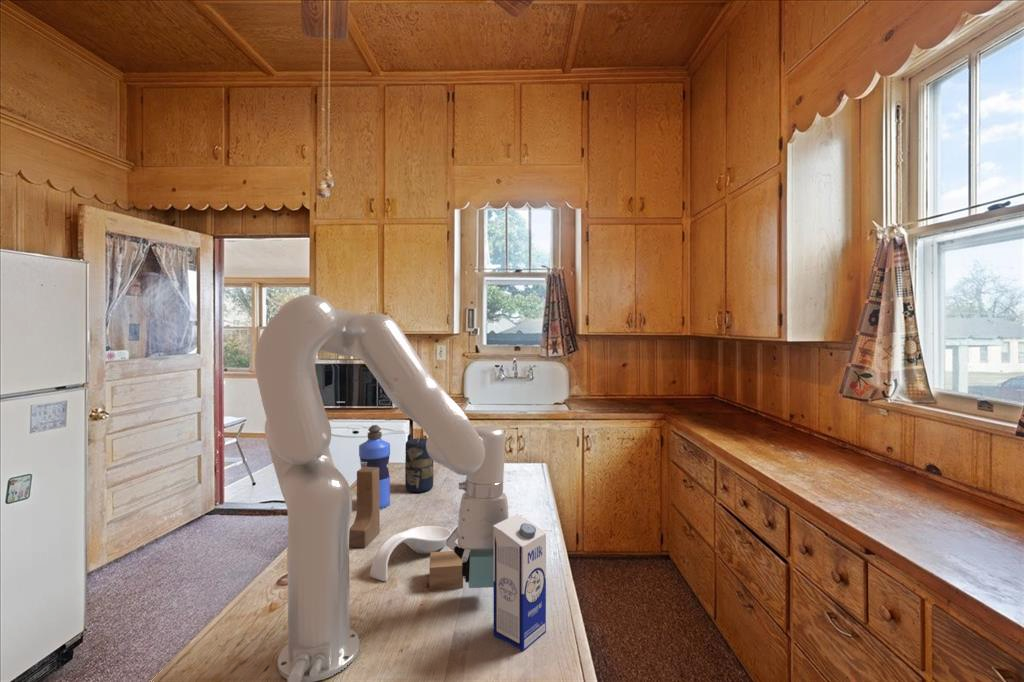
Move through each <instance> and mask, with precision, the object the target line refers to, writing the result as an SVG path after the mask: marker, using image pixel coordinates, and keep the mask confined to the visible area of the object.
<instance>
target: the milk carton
mask: <svg viewBox="0 0 1024 682" xmlns="http://www.w3.org/2000/svg"><path fill="white" fill-rule="evenodd" d="M493 575H494V587H493V636H494V637H495V638H497V639H499V640H501V639H502V641H503V642H505V643H506V642H507V643H506V644H508V643H509V644H508V645H510V644H511V645H510V646H512V647H514V648H515V647H516V648H515V649H517V648H518V649H517V650H519V649H520V650H519V651H521V650H522V651H521V652H524V651H525V650H526V649H528V648H529V647H530V646H531V645H533V643H535V642H536V641H537V640H538V639H540V638H541V636H543V635H544V634H546V632H547V532H546V531H544V530H543V529H541V527H539V526H537V525H536V524H535V523H533V522H532V521H530V520H529V519H527V517H523V516H522V515H520V514H518V513H516V514H514V515H512V516H509V518H508V519H506V520H503V521H501V522H499V523H497V524H495V525H493Z"/></svg>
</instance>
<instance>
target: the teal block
mask: <svg viewBox="0 0 1024 682" xmlns="http://www.w3.org/2000/svg"><path fill="white" fill-rule="evenodd" d="M469 562H470V567H469V582H467V583H468V588H469V589H478V588H479V589H485V588H486V589H488V588H494V575H493V549H471V551H470V554H469Z"/></svg>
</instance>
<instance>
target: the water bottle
mask: <svg viewBox="0 0 1024 682" xmlns="http://www.w3.org/2000/svg"><path fill="white" fill-rule="evenodd" d="M381 430H382V428H381V427H380V426H379V425H378V424H373V425H371V426H369V428H368V429H367V431H368V432H367V440H366V441H364V442H362V443H360V444H359V445H358V456H359V461H360V462H359V463H360V469H361V468H363V467H379V509H381V510H384V509H386V508H388V507H389V506H390V505H391V482H390V481H391V479H390V478H391V477H390V471H389V465H390V464H389V463H390V455H391V443H390V442H388V441H387V440H383V438H382V436H383V435H382V431H381ZM387 506H388V507H387ZM383 508H384V509H383Z"/></svg>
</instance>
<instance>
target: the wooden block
mask: <svg viewBox="0 0 1024 682" xmlns="http://www.w3.org/2000/svg"><path fill="white" fill-rule="evenodd" d="M355 515H356V517H355V519H354V522H353V524H352V525H351V526H350V530H349V548H358V549H361V548H362V549H364V548H366V547H368V545H370V543H371V542H372V541H373V540H375V538H376V537H378V535H379V534H380V526H381V525H380V510H379V467H363V468H361V467H360V469H358V470H357V471H356V513H355Z"/></svg>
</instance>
